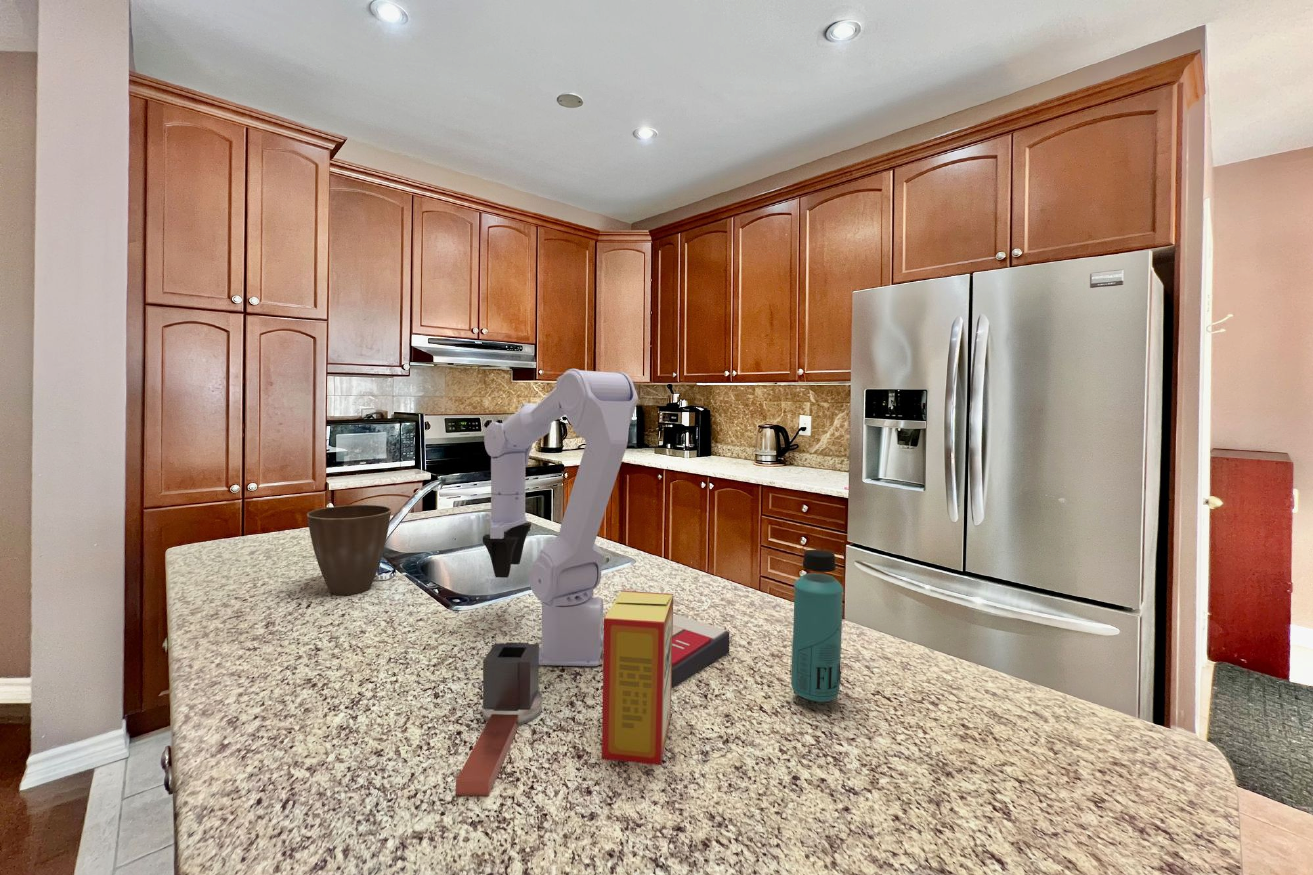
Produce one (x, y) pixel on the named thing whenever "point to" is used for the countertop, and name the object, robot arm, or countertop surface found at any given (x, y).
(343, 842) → the countertop surface
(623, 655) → the baking soda box
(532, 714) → the ratchet
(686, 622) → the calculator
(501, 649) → the socket
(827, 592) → the beverage bottle
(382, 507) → the plant pot
